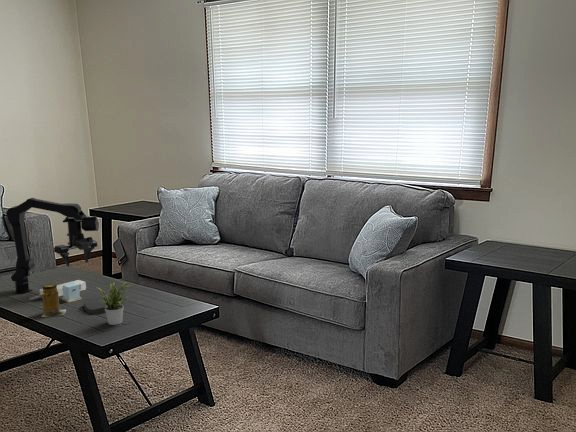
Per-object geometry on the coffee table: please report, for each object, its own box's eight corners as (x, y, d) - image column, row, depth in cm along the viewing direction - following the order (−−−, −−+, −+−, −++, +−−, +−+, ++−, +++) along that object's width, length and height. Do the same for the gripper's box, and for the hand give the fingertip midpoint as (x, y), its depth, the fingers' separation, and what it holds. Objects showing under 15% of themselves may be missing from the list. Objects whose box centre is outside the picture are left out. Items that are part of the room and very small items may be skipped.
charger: (60, 297, 241) (59, 284, 240) (71, 294, 245) (70, 281, 244) (69, 300, 237) (68, 287, 236) (80, 297, 240) (79, 284, 239)
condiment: (44, 311, 225) (42, 283, 223) (66, 309, 227) (64, 282, 225) (41, 317, 218) (38, 288, 216) (63, 315, 220) (61, 287, 218)
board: (61, 299, 240) (61, 298, 240) (74, 296, 244) (74, 295, 244) (69, 302, 236) (68, 301, 236) (81, 299, 241) (81, 297, 241)
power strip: (26, 300, 239) (26, 292, 239) (79, 286, 258) (78, 279, 258) (36, 304, 234) (35, 296, 233) (89, 290, 253) (88, 282, 253)
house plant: (144, 322, 212) (141, 281, 209) (111, 332, 202) (109, 290, 199) (124, 314, 222) (121, 275, 219) (92, 323, 211) (89, 282, 209)
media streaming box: (89, 316, 220) (88, 309, 220) (82, 306, 233) (81, 299, 232) (125, 309, 228) (125, 302, 227) (117, 300, 240) (116, 293, 240)
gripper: (65, 237, 238) (67, 271, 241) (103, 230, 252) (105, 263, 255) (52, 233, 245) (54, 267, 247) (89, 227, 259) (92, 259, 262)
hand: (77, 264), depth 253 cm, fingers open, 9 cm apart
